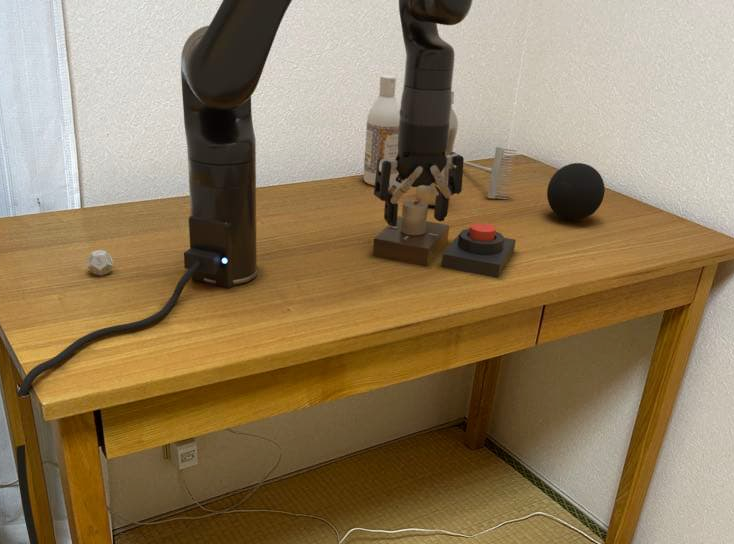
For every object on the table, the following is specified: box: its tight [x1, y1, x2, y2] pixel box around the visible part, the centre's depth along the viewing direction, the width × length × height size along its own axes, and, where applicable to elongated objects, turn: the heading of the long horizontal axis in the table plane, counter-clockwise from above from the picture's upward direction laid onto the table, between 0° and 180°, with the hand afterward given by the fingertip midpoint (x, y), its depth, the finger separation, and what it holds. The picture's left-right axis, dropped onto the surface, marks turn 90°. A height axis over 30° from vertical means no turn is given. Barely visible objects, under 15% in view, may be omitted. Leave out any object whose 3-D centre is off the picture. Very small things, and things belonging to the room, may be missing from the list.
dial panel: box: [372, 215, 450, 268], centre depth 132 cm, size 12×9×3 cm
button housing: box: [441, 227, 517, 279], centre depth 130 cm, size 12×9×4 cm
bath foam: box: [363, 74, 401, 187], centre depth 158 cm, size 7×7×20 cm
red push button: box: [469, 222, 497, 241], centre depth 129 cm, size 4×4×2 cm
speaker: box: [546, 162, 605, 221], centre depth 148 cm, size 10×10×10 cm
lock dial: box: [400, 198, 429, 235], centre depth 130 cm, size 4×4×5 cm
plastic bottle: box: [415, 90, 459, 207], centre depth 148 cm, size 6×7×20 cm
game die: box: [86, 249, 114, 276], centre depth 118 cm, size 4×4×3 cm
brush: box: [463, 146, 518, 200], centre depth 168 cm, size 4×28×9 cm, turn 11°
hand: (415, 222), depth 131 cm, fingers open, 8 cm apart
